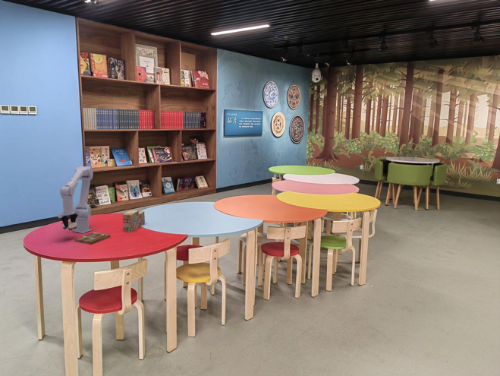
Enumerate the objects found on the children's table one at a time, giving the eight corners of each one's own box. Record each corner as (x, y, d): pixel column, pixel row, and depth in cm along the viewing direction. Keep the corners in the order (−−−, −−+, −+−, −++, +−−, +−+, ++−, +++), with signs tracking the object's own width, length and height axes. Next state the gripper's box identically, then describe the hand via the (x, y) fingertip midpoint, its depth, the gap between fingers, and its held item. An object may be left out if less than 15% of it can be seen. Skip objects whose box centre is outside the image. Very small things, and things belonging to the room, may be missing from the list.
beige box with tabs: (61, 229, 240) (61, 222, 239) (67, 227, 244) (66, 221, 243) (71, 230, 236) (70, 224, 236) (77, 228, 240) (76, 222, 240)
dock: (74, 241, 237) (74, 237, 237) (94, 234, 252) (93, 230, 251) (91, 244, 232) (91, 240, 231) (110, 237, 246) (110, 233, 246)
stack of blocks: (137, 223, 280) (136, 206, 278) (145, 223, 279) (144, 207, 277) (123, 231, 259) (122, 213, 257) (131, 232, 258) (131, 214, 256)
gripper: (63, 208, 229) (64, 230, 231) (82, 203, 242) (83, 224, 245) (54, 207, 232) (56, 228, 234) (74, 202, 245) (75, 223, 247)
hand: (69, 226), depth 240 cm, fingers closed on beige box with tabs, 4 cm apart
